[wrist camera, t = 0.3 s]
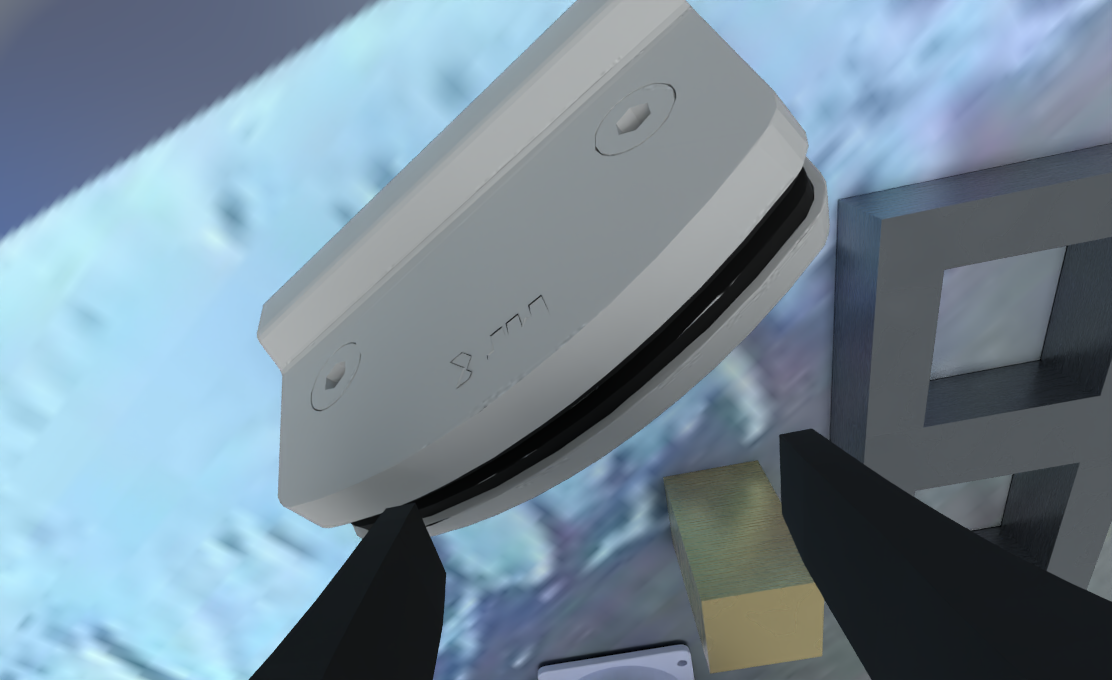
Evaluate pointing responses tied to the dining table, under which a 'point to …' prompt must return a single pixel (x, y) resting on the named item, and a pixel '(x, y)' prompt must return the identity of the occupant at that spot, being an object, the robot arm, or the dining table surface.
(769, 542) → the tan rectangular block
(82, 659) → the dining table surface
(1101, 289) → the grey peg hole base
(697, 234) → the grey piece
